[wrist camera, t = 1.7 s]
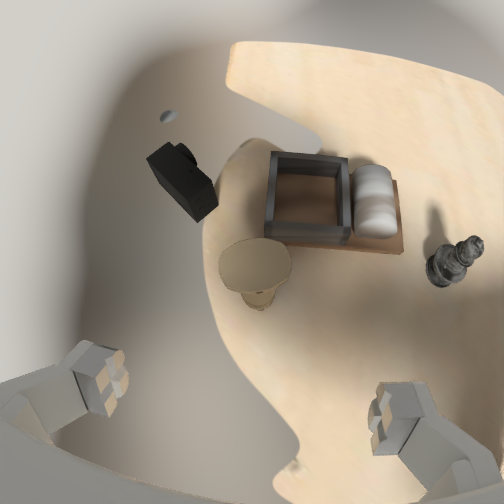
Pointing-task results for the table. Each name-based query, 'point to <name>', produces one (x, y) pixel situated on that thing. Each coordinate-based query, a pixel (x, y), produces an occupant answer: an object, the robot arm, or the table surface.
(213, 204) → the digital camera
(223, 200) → the table surface
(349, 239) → the base
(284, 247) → the handle
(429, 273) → the dark grey chess piece
